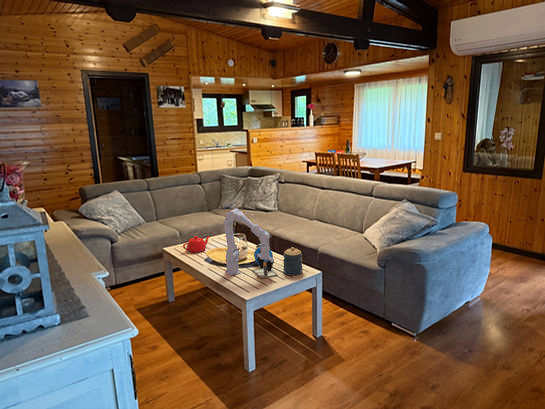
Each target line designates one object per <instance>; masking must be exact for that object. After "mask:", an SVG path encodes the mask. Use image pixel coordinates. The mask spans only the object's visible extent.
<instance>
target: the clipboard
mask: <svg viewBox="0 0 545 409" xmlns="http://www.w3.org/2000/svg"><path fill="white" fill-rule="evenodd" d="M251 272H252V273H254V274H255V275H256V277H258V278H259V279H261V280H265V279H269V278H274V277H278V276H279V274H277V272H275V270H274V269H272V268H271V271H270V272H268V275H266V276H265V275H264V267H263V268H262V269H261V268H256V269H252V270H251Z"/></svg>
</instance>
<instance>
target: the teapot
mask: <svg viewBox="0 0 545 409" xmlns="http://www.w3.org/2000/svg"><path fill="white" fill-rule="evenodd" d="M210 237H211V236H210V235H209V236H206V238H205V239H204V238H202V237H198V235H194V236H193V237H192V238H190V239H188V240H187V242H185V243H183V245H182V247H183V249H184V250H186V251H188V252H189V253H193V254H198V253H202V252H203V251H205V250H206V248H207V245H208V242H209V238H210Z"/></svg>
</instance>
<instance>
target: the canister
mask: <svg viewBox="0 0 545 409" xmlns="http://www.w3.org/2000/svg"><path fill="white" fill-rule="evenodd" d="M283 252H284V253H283V259H282V260H283V273H284V274H285V275H288V276H298V275H300V274H302V273H303V254H302V251H301V250H299V249H298V248H295V247H293V246H292V247H291V248H287V249H286V250H285V251H283Z"/></svg>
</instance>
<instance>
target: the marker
mask: <svg viewBox="0 0 545 409" xmlns="http://www.w3.org/2000/svg"><path fill="white" fill-rule="evenodd" d="M266 262H267V261H264V262H263V266H264V267H263V268H264V275H265V276H266V275H268V268H267V264H266Z"/></svg>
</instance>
